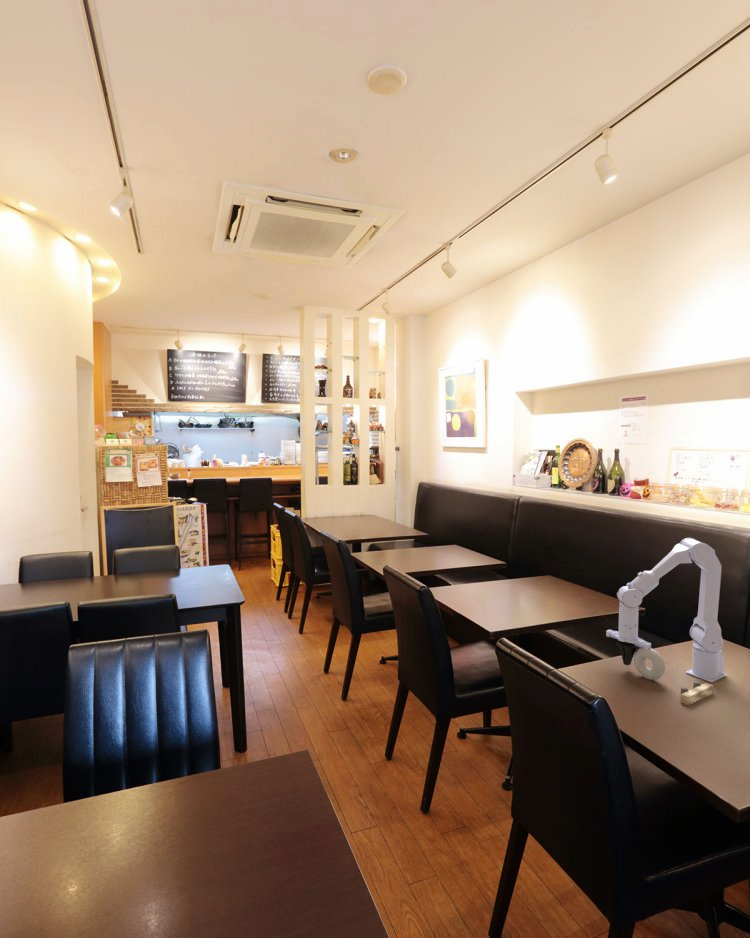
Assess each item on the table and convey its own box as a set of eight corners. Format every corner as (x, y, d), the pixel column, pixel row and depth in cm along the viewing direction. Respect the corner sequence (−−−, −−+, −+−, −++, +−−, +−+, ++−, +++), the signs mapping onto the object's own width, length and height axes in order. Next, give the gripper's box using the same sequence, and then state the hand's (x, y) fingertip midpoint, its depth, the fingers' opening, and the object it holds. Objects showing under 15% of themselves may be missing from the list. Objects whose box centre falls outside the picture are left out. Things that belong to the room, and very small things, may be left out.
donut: (667, 684, 162) (668, 652, 161) (660, 686, 160) (661, 654, 160) (637, 671, 171) (638, 641, 170) (630, 673, 169) (631, 643, 168)
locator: (699, 688, 159) (699, 678, 159) (712, 693, 156) (713, 683, 156) (674, 700, 152) (674, 690, 151) (687, 705, 148) (688, 695, 148)
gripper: (601, 619, 175) (599, 658, 176) (642, 632, 163) (641, 675, 163) (613, 615, 179) (612, 654, 179) (655, 628, 166) (654, 670, 167)
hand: (627, 664), depth 172 cm, fingers closed
